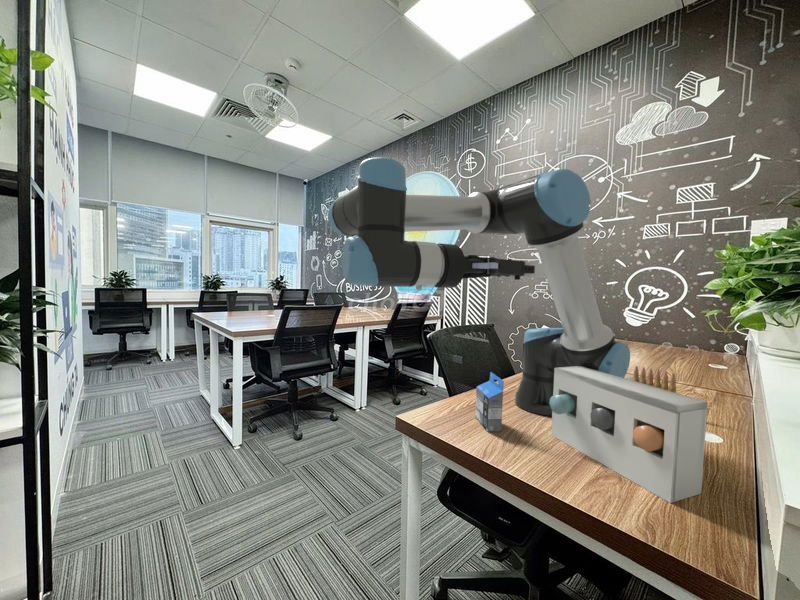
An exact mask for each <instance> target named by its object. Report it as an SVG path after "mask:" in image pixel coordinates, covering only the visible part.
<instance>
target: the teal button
mask: <svg viewBox="0 0 800 600" xmlns="http://www.w3.org/2000/svg"><path fill="white" fill-rule="evenodd" d="M550 407H551V409H552V411H553V412H554V413H556V414H565V413H571V412H573V411H574V408H575V404H574V401H573V399H572V398H571V396H569V395H567V394H561V395H553V396H552V397H551V398H550Z"/></svg>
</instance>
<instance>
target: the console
mask: <svg viewBox="0 0 800 600" xmlns="http://www.w3.org/2000/svg"><path fill="white" fill-rule="evenodd" d="M625 378H626V377H624V378H622V377H618V376H614V375H611V374H607V373H604V372H600V371H597V370H593V369H590V368H586V367H583V366H572V367H559V368H554V389H553V395H561V394H567V395H569V396H571V398H572V399H573V401H574V404H575V408H574V411H573V412H571V413H565V414H556V413H554V412H553V411H552V416H551V429H550V431H551V432H550V435H551V436H552V437H554V438H556V439H558V440H559V441H560V442H563V443H565V444H566V445H568V446H570V447H571V448H573V449H575V450H576V451H578V452H581V453H582V454H583V455H585V456H587V457H589V458H591V459H593V460H594V461H596V462H598V463H600V464H601V465H603V466H605V467H606V468H608V469H610V470H611V471H613V472H615V473H617V474H619V475H620V476H621V477H624V478H625V479H628V480H629V481H631V482H632V483H635V484H636V485H638V486H639V487H642V488H643V489H645V490H647V491H649V492H650V493H652V494H654V495H656V496H657V497H658V498H660V499H663V500H664V501H666V502H668V503H670V504H671V503H675V502H678V501H682V500H685V499H689V498H691V497H695V496H698V495H702V487H703V486H702V485H703V473H704V456H705V447H706V446H705V445H706V443H705V442H706V428H707V415H708V401H706V400H703V399H700V398H696V397H692V396H688V395H685V394H682V393H678V392H676V393H675V392H671V391H669V389H668V390H664V389H661V388H657V387H654V385H653V386H650V385H646V384H643V383H639V382H636V381H632V380H629V379H625ZM602 407H607V408H609V409H612V410H614V411H615V424H614V428H611V429H605V430H601V429H598V428H597V427H595V426H594V424H593V423H592V421H591V417H590V414H591V411H592V410H593V409H595V408H602ZM649 424H651V425H653V426H656V427H658V428H661V429H663V430H665V432H664V447H663V449H658V450H654V451H645V450H643V449H642V448H640V447H639V446H638V445H637V444H636V442H635V441H634V438H633V431H634V429H635V428H636V427H638V426H644V425H649Z"/></svg>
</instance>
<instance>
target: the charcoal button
mask: <svg viewBox="0 0 800 600" xmlns="http://www.w3.org/2000/svg"><path fill="white" fill-rule="evenodd" d="M590 417H591V421H592V423H593V424H594V426H595V427H597V428H598V429H601V430H605V429H611V428H614V424H615V411H614V410H612V409H609V408H607V407H602V408H595V409H593V410H592V411H591V414H590Z"/></svg>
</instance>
